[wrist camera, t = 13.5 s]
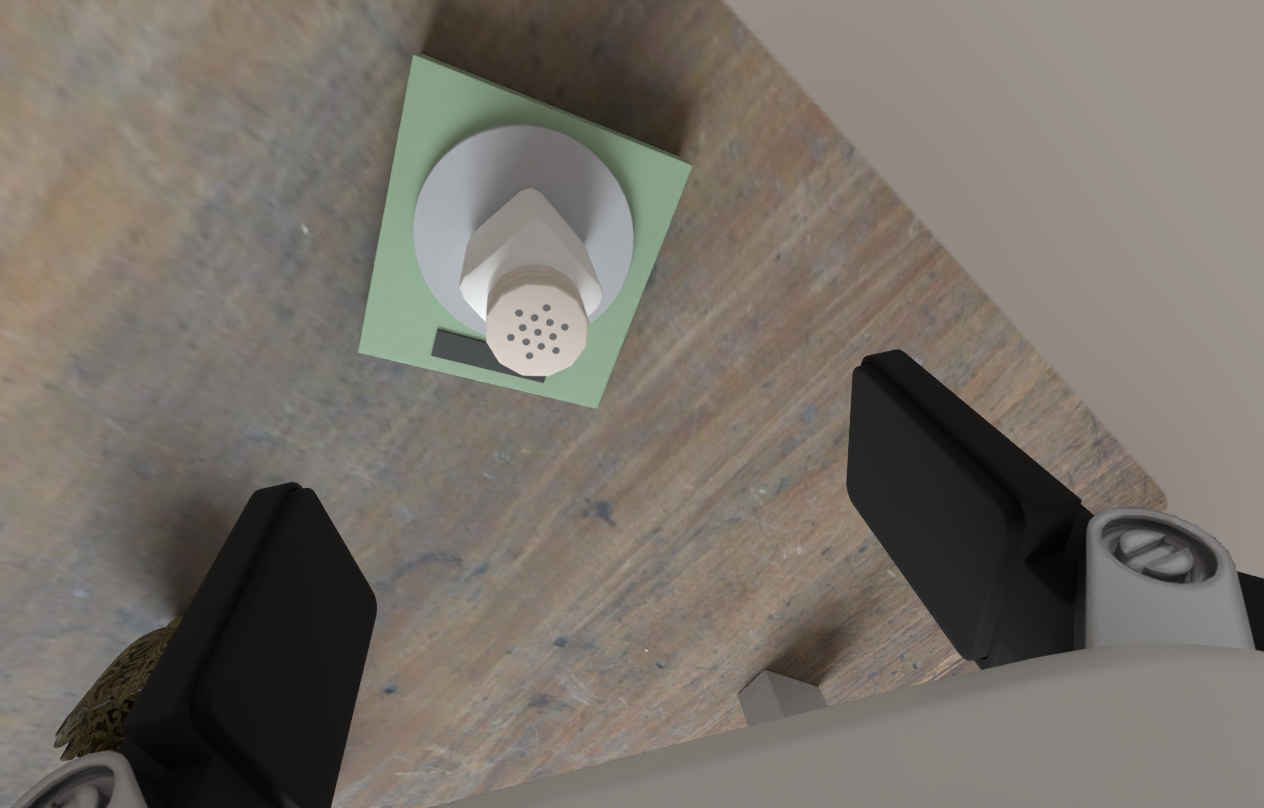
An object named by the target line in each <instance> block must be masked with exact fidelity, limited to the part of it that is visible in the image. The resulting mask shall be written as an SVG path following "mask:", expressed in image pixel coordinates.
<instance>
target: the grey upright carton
mask: <svg viewBox="0 0 1264 808" xmlns="http://www.w3.org/2000/svg"><path fill="white" fill-rule="evenodd" d="M738 698H739V701H740V704H741V707H742V709H743V712H744V715H745V718H746V721H747V723H748V726H753V725H757V724H761V723H765V722H769V721H773V720H777V719H781V718H785V717H789V716H793V715H797V714H801V713H805V712H809V711H813V710H817V709H821V708H826V707H828V705H827V703H826V701H825V699H824V697H823V695H822V693H821V691H820V689H819V687H817V686H814V685H811V684H808V683H805V682H802V681H799V680H795V679H792V678H789V677H786V676H783V675H780V674H777V673H774V672H771V671H768V670H763V671H762V672H761V673H760V674H759V675H758V676H757V677H756V678H755V679H754V680H753V681H752V682H751V683H750V684H749V685H748V686H747V687H746V688H745V689H744V690H743V691H742V692H741V693H739V694H738Z"/></svg>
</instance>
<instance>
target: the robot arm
mask: <svg viewBox="0 0 1264 808" xmlns="http://www.w3.org/2000/svg"><path fill="white" fill-rule="evenodd" d="M846 484H847V491H848V495H849V497H850V500H851V502H852V503H853V505H854V506H855V508H856V509H857V511H858V512H859V513H860V515H861V516H862V518H863V519H864V520H865V522H866V523H867V525H868V526H869V528H870V529H871V530H872V532H873V533H874V535H875V536H876V537H877V539H878V540H879V542H880V543H881V544H882V546H883V547H884V549H885V550H886V552H887V553H888V554H889V556H890V557H891V559H892V560H893V561H894V563H895V564H896V566H897V567H898V568H899V570H900V571H901V573H902V574H903V575H904V577H905V578H906V580H907V581H908V583H909V584H910V585H911V587H912V588H913V590H914V591H915V592H916V594H917V595H918V597H919V598H920V599H921V601H922V602H923V604H924V605H925V607H926V608H927V609H928V611H929V612H930V614H931V615H932V616H933V618H934V619H935V621H936V622H937V623H938V625H939V626H940V628H941V629H942V630H943V632H944V633H945V635H946V636H947V638H948V639H949V640H950V642H951V643H952V645H953V646H954V647H955V649H956V650H957V652H958V653H959V654H960V655H961V656H962V657H963V658H964V659H966V660H968V661H970V660H974V661H975V662H976V663H977V665H978V666H979V667H980V669H981V670H980V671H975V672H971V673H966V674H962V675H958V676H953V677H949V678H944V679H940V680H936V681H931V682H927V683H923V684H919V685H915V686H911V687H907V688H903V689H898V690H894V691H890V692H886V693H882V694H878V695H874V696H870V697H866V698H862V699H858V700H854V701H850V702H846V703H842V704H838V705H834V706H830V707H826V708H821V709H817V710H813V711H809V712H805V713H801V714H797V715H793V716H789V717H785V718H781V719H777V720H773V721H769V722H765V723H761V724H757V725H753V726H749V727H745V728H741V729H737V730H733V731H729V732H725V733H721V734H717V735H713V736H709V737H705V738H701V739H697V740H693V741H689V742H685V743H681V744H677V745H673V746H669V747H665V748H661V749H657V750H653V751H649V752H645V753H641V754H637V755H633V756H630V757H626V758H622V759H618V760H614V761H610V762H606V763H602V764H598V765H594V766H590V767H586V768H582V769H578V770H574V771H570V772H566V773H562V774H558V775H555V776H551V777H547V778H543V779H539V780H535V781H531V782H527V783H523V784H519V785H515V786H511V787H508V788H504V789H500V790H496V791H492V792H488V793H484V794H480V795H477V796H473V797H469V798H465V799H461V800H457V801H453V802H449V803H446V804H442V805H438V806H434V807H430V808H1264V579H1263V578H1259V577H1256V576H1252V575H1249V574H1245V573H1241V572H1238V571H1237V570H1236V566H1235V564H1234V561H1233V560H1232V557H1231V555H1230V554H1229V552H1228V550H1227V549H1225V547H1224V546H1223V545H1222V544H1221V543H1220V542H1219V541H1218V540H1217V539H1216V538H1215V537H1213V536H1212V535H1210V534H1209V533H1207V532H1205V531H1204V530H1203V529H1201V528H1200V527H1198V526H1196V525H1194V524H1192V523H1190V522H1188V521H1186V520H1183V519H1181V518H1179V517H1177V516H1174V515H1171V514H1167V513H1164V512H1160V511H1157V510H1153V509H1145V508H1137V507H1120V508H1111V509H1108V510H1105V511H1102V512H1099V513H1098V514H1097V515H1095V516H1094V515H1093V514H1092V513H1091V512H1089V511H1088V510H1087V509H1086V508H1085V507H1084V506H1082V505H1081V501H1082V500H1081V499H1080V498H1079V497H1077V496H1076V495H1075V494H1074V493H1073V492H1071V491H1070V490H1069V489H1068V488H1067V487H1065V486H1064V485H1063V484H1062V483H1061V482H1059V481H1058V480H1057V479H1056V478H1055V477H1053V476H1052V475H1051V474H1050V473H1049V472H1047V471H1046V470H1045V469H1044V468H1043V467H1041V466H1040V465H1039V464H1038V463H1037V462H1035V461H1034V460H1033V459H1032V458H1031V457H1029V456H1028V455H1027V454H1026V453H1025V452H1023V451H1022V450H1021V449H1020V448H1019V447H1017V446H1016V445H1015V444H1014V443H1013V442H1011V441H1010V440H1009V439H1008V438H1007V437H1005V436H1004V435H1003V434H1002V433H1001V432H999V431H998V430H997V429H996V428H995V427H993V426H992V425H991V424H990V423H989V422H987V421H986V420H985V419H984V418H983V417H981V416H980V415H979V414H978V413H977V412H975V411H974V410H973V409H972V408H971V407H969V406H968V405H967V404H966V403H965V402H963V401H962V400H961V399H960V398H959V397H957V396H956V395H955V394H954V393H953V392H951V391H950V390H949V389H948V388H947V387H945V386H944V385H943V384H942V383H941V382H939V381H938V380H937V379H936V378H935V377H933V376H932V375H931V374H930V373H929V372H927V371H926V370H925V369H924V368H923V367H921V366H920V365H919V364H918V363H917V362H915V361H914V360H913V359H912V358H911V357H909V356H908V355H907V354H906V353H905V352H903V351H901V350H891V351H887V352H882V353H878V354H873V355H868V356H866V357H864V358H863V360H862V363H861V366H857V367H856V368H855V369H854V371H853V377H852V394H851V412H850V429H849V446H848V463H847V481H846ZM376 614H377V603H376V598H375V595H374V593H373V591H372V589H371V587H370V586H369V584H368V582H367V580H366V579H365V577H364V575H363V574H362V572H361V570H360V569H359V567H358V565H357V563H356V562H355V560H354V558H353V557H352V555H351V553H350V551H349V550H348V548H347V546H346V545H345V543H344V541H343V540H342V538H341V536H340V534H339V533H338V531H337V529H336V528H335V526H334V524H333V522H332V521H331V519H330V517H329V516H328V514H327V512H326V511H325V509H324V507H323V505H322V504H321V502H320V500H319V499H318V497H317V495H316V494H315V492H314V491H313V490H312V489H310V488H304V489H303V488H302V486H301V485H299V484H298V483H295V482H290V483H286V484H281V485H277V486H272V487H268V488H263V489H259V490H257V491H255V492H254V493H253V494H252V496H251V497H250V499H249V501H248V503H247V505H246V506H245V508H244V510H243V512H242V513H241V515H240V517H239V519H238V521H237V522H236V524H235V526H234V528H233V529H232V531H231V533H230V535H229V536H228V538H227V540H226V542H225V544H224V545H223V547H222V549H221V551H220V552H219V554H218V556H217V558H216V560H215V561H214V563H213V565H212V567H211V568H210V570H209V572H208V574H207V575H206V577H205V579H204V581H203V583H202V584H201V586H200V588H199V590H198V591H197V593H196V595H195V597H194V599H193V600H192V602H191V604H190V606H189V607H188V609H187V611H186V613H185V614H184V616H183V618H182V620H181V622H180V623H179V625H178V627H177V629H176V630H175V632H174V634H173V636H172V637H171V639H170V641H169V643H168V645H167V646H166V648H165V650H164V652H163V653H162V655H161V657H160V659H159V661H158V662H157V664H156V666H155V668H154V669H153V671H152V673H151V675H150V676H149V678H148V680H147V682H146V684H145V685H144V687H143V689H142V691H141V692H140V694H139V696H138V698H137V700H136V701H135V703H134V705H133V707H132V708H131V710H130V712H129V714H128V715H127V717H126V719H125V721H124V723H123V724H122V726H121V728H120V730H121V731H122V732H123V733H124V734H125V735H126V736H125V738H124V740H123V742H122V744H121V745H120V747H119V749H118V751H117V752H112V751H102V752H96V753H90V754H87V755H85V756H83V757H80V758H78V759H75V760H73V761H71V762H68V763H67V764H65V765H63V766H62V767H60V768H59V769H57V770H55V771H54V772H52V773H50V774H49V775H47V776H46V777H45V778H43V779H42V780H41V781H40V782H38V783H37V784H36V785H35V786H33V787H32V788H31V789H30V790H29V791H27V792H26V793H25V794H24V795H23V796H22V797H21V798H20V799H19V800H18V801H17V802H16V803H15V804H14V805H13V806H12V807H11V808H331V805H332V800H333V796H334V792H335V788H336V783H337V779H338V775H339V771H340V767H341V762H342V758H343V754H344V750H345V745H346V741H347V737H348V733H349V729H350V724H351V720H352V716H353V712H354V707H355V703H356V699H357V695H358V691H359V686H360V682H361V678H362V674H363V669H364V665H365V661H366V657H367V653H368V648H369V644H370V640H371V636H372V631H373V627H374V623H375V619H376Z"/></svg>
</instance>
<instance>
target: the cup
mask: <svg viewBox="0 0 1264 808" xmlns="http://www.w3.org/2000/svg"><path fill="white" fill-rule="evenodd" d="M185 613H186V612H184V613H182V614H180V615H178V616H177V617H176V618H174V619H173V620H172V621H171V622H170V623H169V624H168V625H167V627H164V628H160V629H157V630H154V631H152V632H150V633H148V634H146V635H144V636H142V637H141V638H139V639H138V640H136V641H135V642H133V643H132V644H131V645H130V646H128V647H127V648H126V649H125V650H124V651H123V652H122V653H121V654H120V655H119V656H118V657H117V658H116V659H115V660H114V661H113V662H112V664H111V665H110V666H109V667H108V668H107V669H106V670H105V672H104V673H103V674H102V675H101V676H100V678H99V679H98V680H97V681H96V682H95V684H94V685H93V686H92V687H91V689H90V690H89V691H88V692H87V694H86V695H85V696H84V697H83V698H82V700H81V701H80V702H79V703H78V705H77V706H76V707H75V708H74V710H73V711H72V712H71V713H70V714H69V715H68V717H67V718H66V719H65V721H64V722H63V724H62V725H61V727H60V728H59V730H58V731H57V733H56V735H55V737H56V736H57V739H56V741H55V743H54V748H58V747H61V746H63V745H65V744H67V743H68V742H69V743H68V746H67V747H66V749H65V751H64V752H63V754H62V756H61V759H60V760H61V761H66V760H72V759H73V758H74V757H76V756H77V757H78V758H80V757H83V756H85V755H87V754H90V753H96V752H102V751H112V752H117V751H118V749H119V747H120V745H121V744H122V742H123V740H124V738H125V736H126V735H125V734H124V733H123V732H122V731H121V730H120V728H121V726H122V724H123V723H124V721H125V719H126V717H127V715H128V714H129V712H130V710H131V708H132V707H133V705H134V703H135V701H136V700H137V698H138V696H139V694H140V692H141V691H142V689H143V687H144V685H145V684H146V682H147V680H148V678H149V676H150V675H151V673H152V671H153V669H154V668H155V666H156V664H157V662H158V661H159V659H160V657H161V655H162V653H163V652H164V650H165V648H166V646H167V645H168V643H169V641H170V639H171V637H172V636H173V634H174V632H175V630H176V629H177V627H178V625H179V623H180V622H181V620H182V618H183V616H184V614H185ZM76 754H78V755H76ZM75 755H76V756H75Z"/></svg>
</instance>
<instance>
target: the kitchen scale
mask: <svg viewBox="0 0 1264 808" xmlns="http://www.w3.org/2000/svg"><path fill="white" fill-rule="evenodd" d="M692 167H693V165H692V164H690V163H689V162H687V161H685V160H684V159H682V158H681V157H679V156H677V155H674V154H672V153H669V152H667V151H664V150H662V149H659V148H657V147H654V146H652V145H649V144H647V143H644V142H642V141H639V140H637V139H634V138H632V137H629V136H627V135H624V134H622V133H619V132H617V131H614V130H612V129H609V128H607V127H604V126H602V125H599V124H597V123H594V122H592V121H589V120H587V119H584V118H582V117H579V116H577V115H574V114H572V113H569V112H567V111H564V110H562V109H559V108H557V107H554V106H552V105H549V104H547V103H544V102H542V101H539V100H537V99H534V98H532V97H529V96H527V95H524V94H522V93H519V92H517V91H514V90H512V89H509V88H507V87H504V86H502V85H499V84H497V83H494V82H492V81H489V80H487V79H484V78H482V77H479V76H477V75H474V74H472V73H469V72H467V71H464V70H462V69H459V68H457V67H454V66H452V65H449V64H447V63H444V62H442V61H439V60H437V59H434V58H432V57H429V56H427V55H424V54H422V53H419V54H413V56H412V62H411V67H410V72H409V78H408V83H407V89H406V94H405V100H404V105H403V110H402V116H401V121H400V127H399V132H398V137H397V143H396V148H395V154H394V159H393V164H392V170H391V175H390V181H389V186H388V192H387V197H386V202H385V208H384V213H383V219H382V224H381V229H380V235H379V240H378V246H377V251H376V256H375V262H374V267H373V273H372V278H371V284H370V289H369V294H368V300H367V305H366V311H365V316H364V321H363V327H362V332H361V338H360V343H359V349H358V352H359V353H363V354H367V355H372V356H376V357H380V358H384V359H389V360H393V361H397V362H401V363H406V364H410V365H414V366H418V367H423V368H427V369H431V370H435V371H440V372H444V373H448V374H452V375H457V376H461V377H465V378H469V379H474V380H478V381H482V382H486V383H491V384H495V385H499V386H503V387H508V388H512V389H516V390H520V391H524V392H529V393H533V394H537V395H541V396H546V397H550V398H554V399H558V400H563V401H567V402H571V403H575V404H580V405H584V406H588V407H592V408H597V407H598V405H599V402H600V400H601V397H602V395H603V392H604V390H605V387H606V384H607V382H608V379H609V377H610V374H611V372H612V369H613V367H614V364H615V362H616V359H617V357H618V354H619V352H620V349H621V346H622V344H623V341H624V339H625V336H626V334H627V331H628V329H629V326H630V324H631V321H632V319H633V316H634V314H635V311H636V309H637V306H638V303H639V301H640V298H641V296H642V293H643V291H644V288H645V286H646V283H647V281H648V278H649V276H650V273H651V271H652V268H653V266H654V263H655V260H656V258H657V255H658V253H659V250H660V248H661V245H662V243H663V240H664V238H665V235H666V233H667V230H668V228H669V225H670V223H671V220H672V217H673V215H674V212H675V210H676V207H677V205H678V202H679V200H680V197H681V195H682V192H683V190H684V187H685V185H686V182H687V180H688V177H689V174H690V172H691V169H692ZM528 188H533V189H535V190H537V191H539V192H541V193H542V194H543V195H544V197H545V198H546V199H547V200H548V201H549V203H550V204H551V205H552V206H553V207H554V209H555V210H556V211H557V212H558V213H559V215H560V216H561V217H562V218H563V219H564V221H565V222H566V223H567V224H568V225H569V226H570V228H571V229H572V230H573V231H574V232H575V234H576V235H577V236H578V237H579V238H580V240H581V241H582V242H583V243H584V245H585V247H586V250H587V252H588V255H589V257H590V260H591V262H592V265H593V267H594V270H595V272H596V275H597V277H598V280H599V282H600V284H601V288H602V291H603V297H602V299H601V301H600V304H599V306H598V308H597V309H596V310H595V311H594V312H593V313H592V314H590V315H589V316H588V320H589V326H588V336H587V345H586V347H585V348H584V350H583V351H582V352H581V354H580V355H579V356H578V358H577V359H576V360H575V362H574V363H573V364H572V366H570V367H567V368H565V369H563V370H561V371H559V372H556V373H554V374H552V375H550V376H524V375H520V374H519V373H517V372H515V371H513V370H511V369H510V368H508V367H506V366H504V365H502V364H501V363H499V362H498V360H497V358H496V357H495V355H494V353H493V352H492V350H491V349H490V347H489V345H488V344H487V342H486V322H485V321H484V320H483V319H482V318H481V317H480V316H479V315H478V314H477V313H476V311H475V310H474V309H473V308H472V307H471V306H470V305H469V304H468V303H467V302H466V300H465V299H464V298H463V295H462V292H461V290H460V287H459V282H460V277H461V272H462V266H463V261H464V256H465V251H466V245H467V243H468V240H469V238H470V236H471V234H472V233H474V232H475V231H476V230H477V229H478V228H479V227H480V226H481V225H483V224H484V223H485V222H486V221H487V220H488V219H489V218H491V217H492V216H493V215H494V214H495V213H496V212H497V211H498V210H500V209H501V208H502V207H503V206H504V205H505V204H506V203H507V202H509V201H510V200H511V199H512V198H513V197H514V196H515V195H517V194H518V193H519V192H520V191H522V190H525V189H528Z"/></svg>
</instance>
